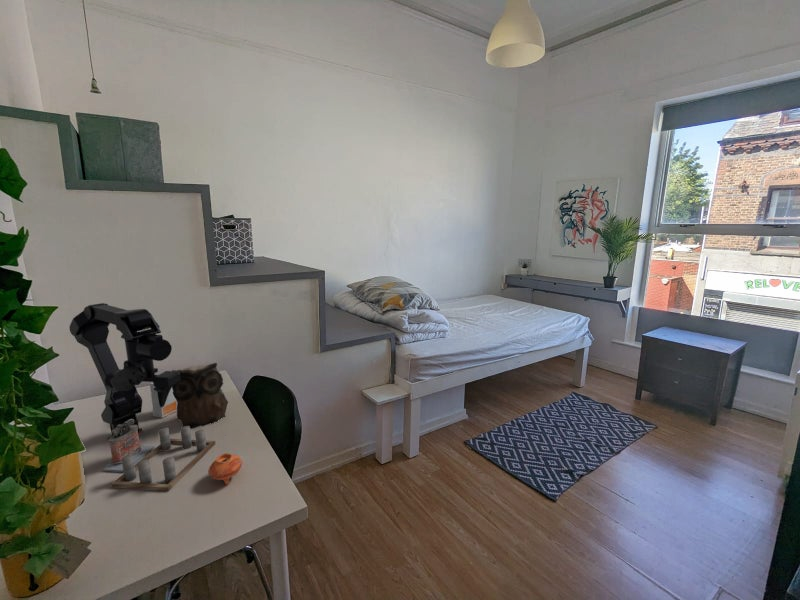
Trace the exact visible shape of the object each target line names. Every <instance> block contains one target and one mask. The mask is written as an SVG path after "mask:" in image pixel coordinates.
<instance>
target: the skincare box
mask: <svg viewBox="0 0 800 600" xmlns="http://www.w3.org/2000/svg"><path fill="white" fill-rule="evenodd" d="M149 386H150V387H149V388H150V397H151V402H152V412H153V417H157V418H161V419H162V418H164V417H167V416H169V415H172V414H173V413H175V412H177V405H178V403H177V400H176V399H175V397H174V395H173V389H172V388H171V390H170V392H169V394H168V397H167V400H166V402H165V405H164V406H163V407H160V405H159V400H158V393H157V391H155V390H154V388H156V387H155V386H154V385H153V382H150V383H149Z"/></svg>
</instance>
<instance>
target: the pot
mask: <svg viewBox="0 0 800 600" xmlns="http://www.w3.org/2000/svg"><path fill="white" fill-rule="evenodd" d="M242 465H243V460H242V458H241V457H240V456H238V455H236V454H233V453H222V454H219V455H218V456H217V457H216V459H215V460H214V461H213V462H212V463H211V465H210V466H209V467H208V473H207V474H208V476H209V477H210V478H212V479H214V480H217V481H222V480H223V482H224V483H225V485H226V486H228V485H229V482H230V479H231V478H232V477H233V476H235V475H236V474H237V473H238V472H239V471H240V469H241V467H242Z"/></svg>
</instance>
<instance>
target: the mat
mask: <svg viewBox="0 0 800 600" xmlns="http://www.w3.org/2000/svg"><path fill="white" fill-rule="evenodd" d="M140 446H141V451H140V452H139V453H138V454H136V455H135V456H134V457H133V458H134V464H135V463H136V464H137V463H138V462H139V461H140V459H141V460H142V459H143V458H144V457H145V455H148V454H149V453H150V451H153V450H154V449H155V448H156V446H155V445H140ZM108 471H111V472H110V473H112V472H113V473H124V471H123V465H122V464H121V465H118V466H113V465H112V462H110V463H109V464H108V465H106V466H105V467H104V468H103V469H102V472H108Z"/></svg>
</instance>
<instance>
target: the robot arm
mask: <svg viewBox="0 0 800 600" xmlns="http://www.w3.org/2000/svg"><path fill="white" fill-rule="evenodd" d="M110 325H115V326H116V327H115V328H116V330H117V331H118V332H120V333H121V335H120V338H121V339H123V340H124V345H125V350H126V351H125V352H126V357H127V359H126V360H124V361H123V368H122V369H121V368H120V367H119V365H118V364H117V362H116V360H115V356H114V354H113V352H112V351H111V348H110V346H109V344H108V342H107V340H108V338H109V337H108V336H109V333H110V330H109V326H110ZM69 332H70V334H71V335H72V336H73V337H74V338H75V341H76V342H77V343H78V344H80V345H81V346H84V348H85V347H86V348H87V350H88V352H89V355H90V356H91V359H92V362H93V363H94V365H95V368H96V369H97V372H98V374H99V377H100V379H101V382H102V384H103V386H104V388H105V391H106V394H105V398H104V402H103V403H104V406H105V408H104V409H103V410H102V412H101V414H100V416H101V420H102V421H103V422H104V423H105V424H106V423H107V424H109V427H110V433H111V435H110V436H108V437H107V440H108V439H109V438H110V437H112V436H113V434H112V430H113V429H115V428H116V427H117V425H119V424H123V423H124V422H126V421H128V420H129V419H134V423H133V424H132V425H138V429H137V430H138V434H139V433H140V432H142V431H143V428H142V427H139V426H140V425H139V420H138V419H137V414H141V413H142V409H143V408H142V407H143V398H142V396H141V395H140V394H139V392H138V390H137V389H138V388H137V387H136V386H139V385H140V384H142V382H145V383H146V382H147V383H148V382H149V383H153V385H154V386H155V387H156V388H154V390H155V391H157V393H158V400H159V405H160V407H163V406H164V405H165V402H166V400H167V397H168V394H169V392H170V390H171V388H172V386H173V385H174V384H175V383H177V382H178V381H180V380H181V377H180V373H179V372H177V371H172V370H166V371H163V372H161V373H160V374H156V373H158V372H159V369H158V368H157V367H155V365H154V361H158V362H160V361H161V362H162V361H164V360H166V359H167V358H168V357H170V355H171V353H172V349H173V348H172V347H173V346H172V344H171V343H170V342H169V341H168V340H166V339H164V338H163V337H164V336H163V335H162V334H161V333H162V330H161V329H160V325H159V323H158V322H157V320H155V318H154V316H153V315H152V313H150V311H149V310H148V309H146V308H138V309H137V308H136V309H125V308H120V307H117V306H113V305H109V304H107V303H104V302H103V303H102V302H100V303H96V304H88V305H87V306H85V307H84V308H83V310H82V311H81V312H80V313H78V314H77V315H75V316H74V317H73V318H72V320H71V322H70V324H69ZM130 426H131V425H130Z"/></svg>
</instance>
